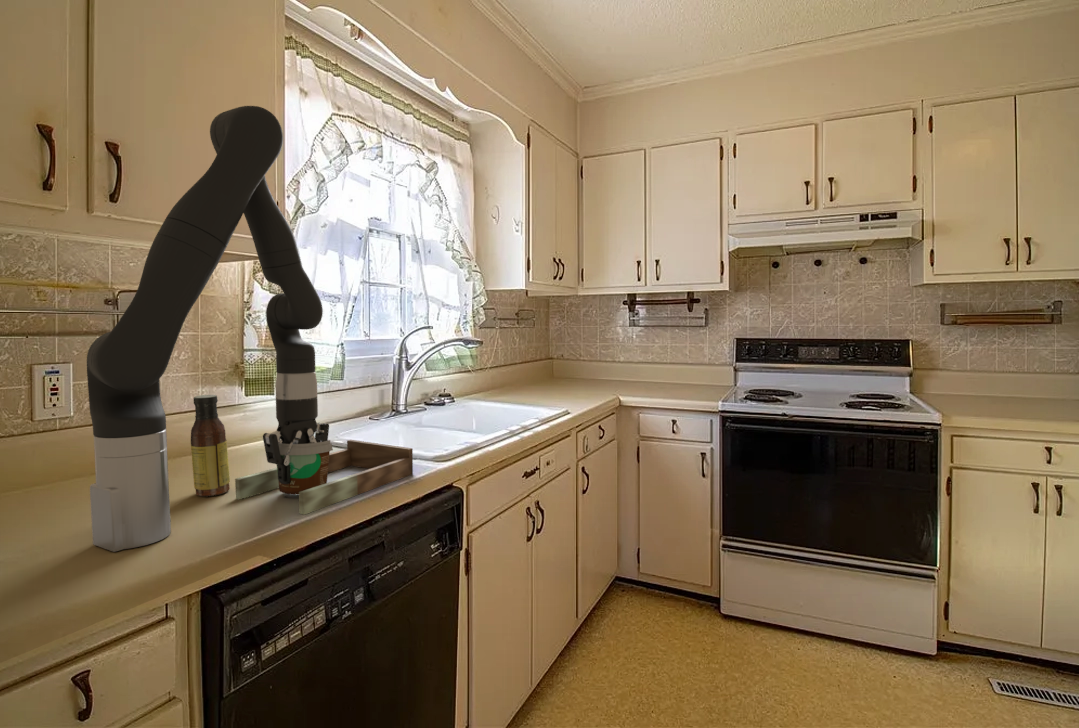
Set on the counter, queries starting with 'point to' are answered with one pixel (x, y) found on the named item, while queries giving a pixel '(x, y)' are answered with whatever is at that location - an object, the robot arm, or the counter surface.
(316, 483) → the food container
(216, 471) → the sauce bottle
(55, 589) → the counter surface
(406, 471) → the crate bay
